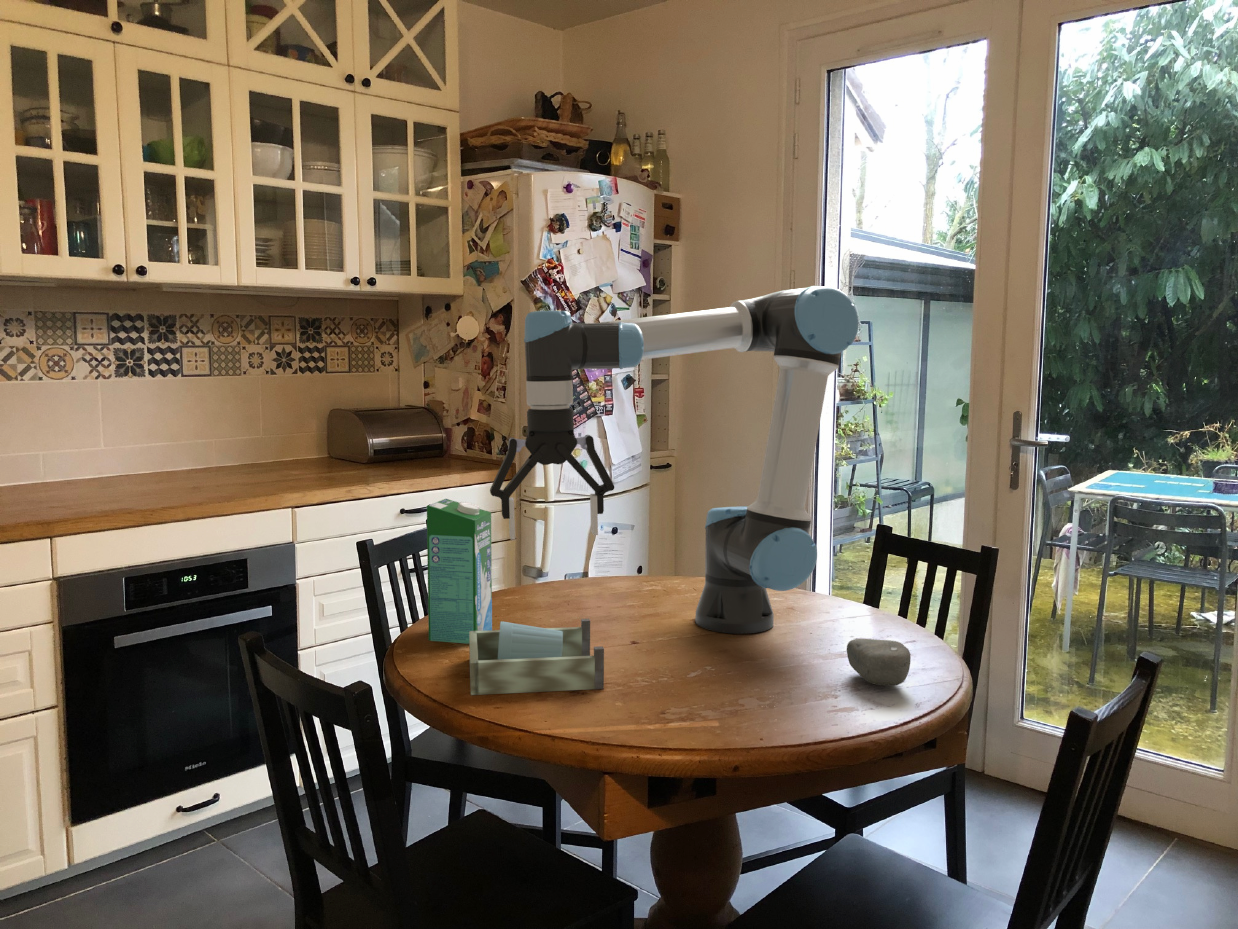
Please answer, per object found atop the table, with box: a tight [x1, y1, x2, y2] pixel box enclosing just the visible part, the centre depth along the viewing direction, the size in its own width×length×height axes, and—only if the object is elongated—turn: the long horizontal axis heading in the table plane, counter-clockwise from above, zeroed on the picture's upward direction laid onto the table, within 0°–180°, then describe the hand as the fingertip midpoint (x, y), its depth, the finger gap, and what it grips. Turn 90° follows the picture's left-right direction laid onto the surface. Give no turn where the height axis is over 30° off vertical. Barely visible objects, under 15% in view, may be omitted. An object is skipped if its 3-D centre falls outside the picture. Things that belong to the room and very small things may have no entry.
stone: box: [846, 638, 911, 687], centre depth 156 cm, size 9×9×10 cm
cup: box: [498, 621, 563, 660], centre depth 161 cm, size 8×8×10 cm
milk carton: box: [426, 498, 493, 645], centre depth 178 cm, size 9×9×25 cm
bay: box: [468, 618, 605, 696], centre depth 158 cm, size 20×18×6 cm
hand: (553, 536), depth 160 cm, fingers open, 13 cm apart
